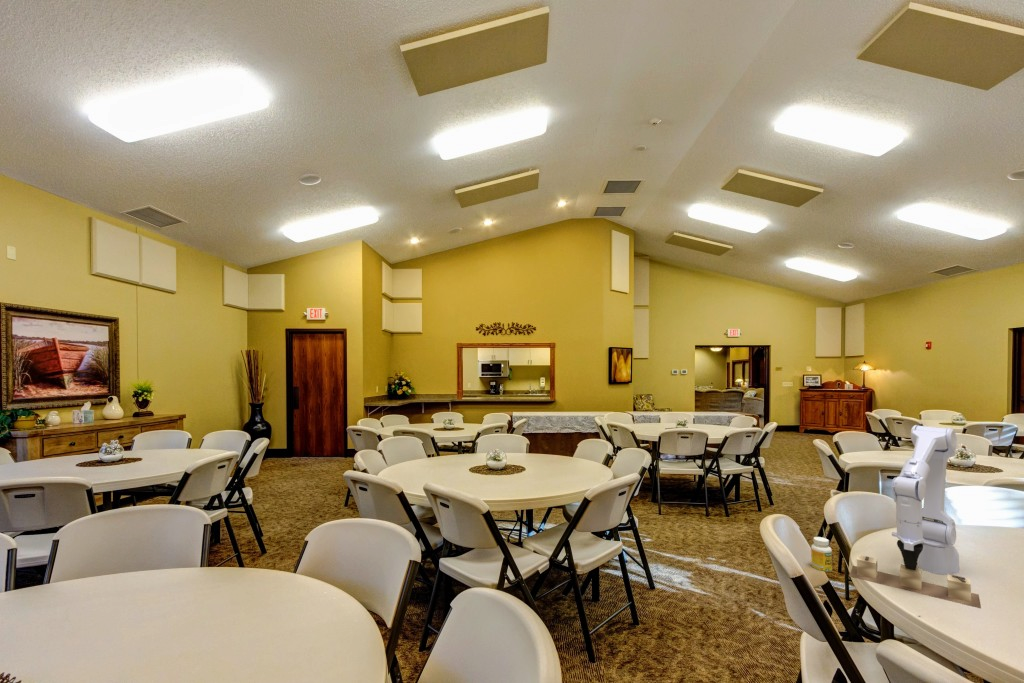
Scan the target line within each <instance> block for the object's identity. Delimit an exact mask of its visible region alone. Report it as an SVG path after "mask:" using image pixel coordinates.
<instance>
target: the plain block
mask: <svg viewBox="0 0 1024 683" xmlns="http://www.w3.org/2000/svg"><path fill="white" fill-rule="evenodd" d="M899 576H900V585H902V586H906V587H910V588H914V589H918V590H921V588H922V582H923V580H922V569H921V568H919V567H916V570H910V569H906V567H905V564H904V563H903V564H902V563H901V564H900V567H899Z"/></svg>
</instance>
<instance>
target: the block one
mask: <svg viewBox="0 0 1024 683" xmlns="http://www.w3.org/2000/svg"><path fill="white" fill-rule="evenodd" d="M856 566H857V575H860V576H864V577H869V578H873V579H876V578H877V575H878V572H877V571H878V558H876V557H870V556H867V555H866V556H865V555H861V554H858V555H857V558H856Z"/></svg>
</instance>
